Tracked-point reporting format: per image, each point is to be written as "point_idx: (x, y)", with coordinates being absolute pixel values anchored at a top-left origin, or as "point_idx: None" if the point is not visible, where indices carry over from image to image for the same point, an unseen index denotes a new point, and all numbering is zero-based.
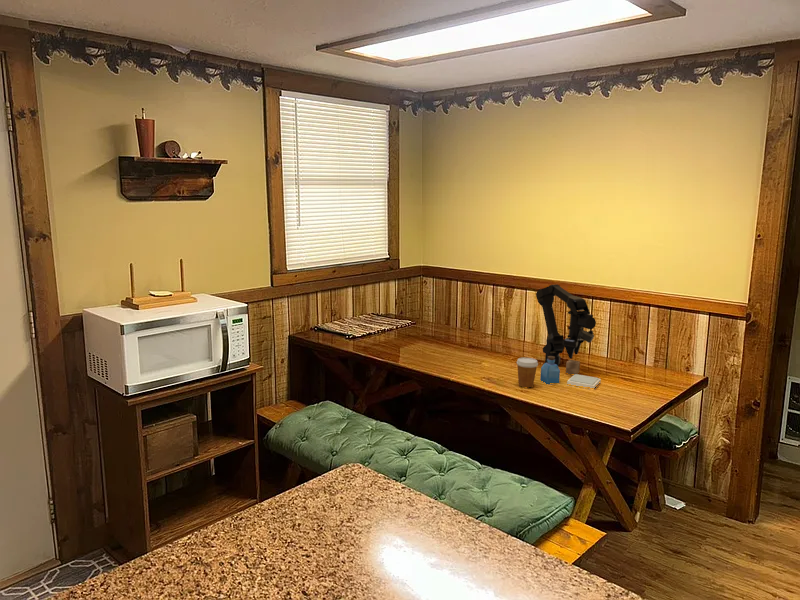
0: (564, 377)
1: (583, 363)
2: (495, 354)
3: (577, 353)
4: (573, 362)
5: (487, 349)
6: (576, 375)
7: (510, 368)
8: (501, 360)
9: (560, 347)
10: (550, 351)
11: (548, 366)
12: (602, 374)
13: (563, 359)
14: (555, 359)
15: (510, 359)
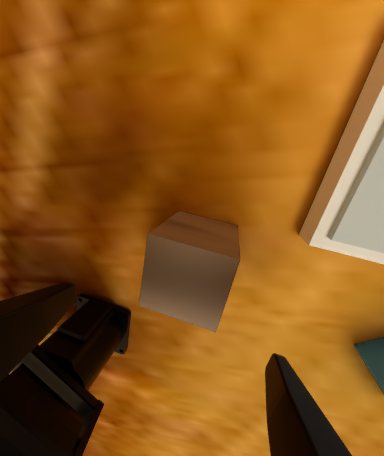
0: (291, 285)
1: (6, 193)
2: (92, 448)
3: (65, 288)
4: (202, 284)
5: None
6: (375, 236)
7: (223, 450)
8: (142, 450)
9: (19, 417)
10: (88, 426)
11: None
12: (136, 57)
13: (11, 275)
14: (96, 340)
15: (118, 427)
